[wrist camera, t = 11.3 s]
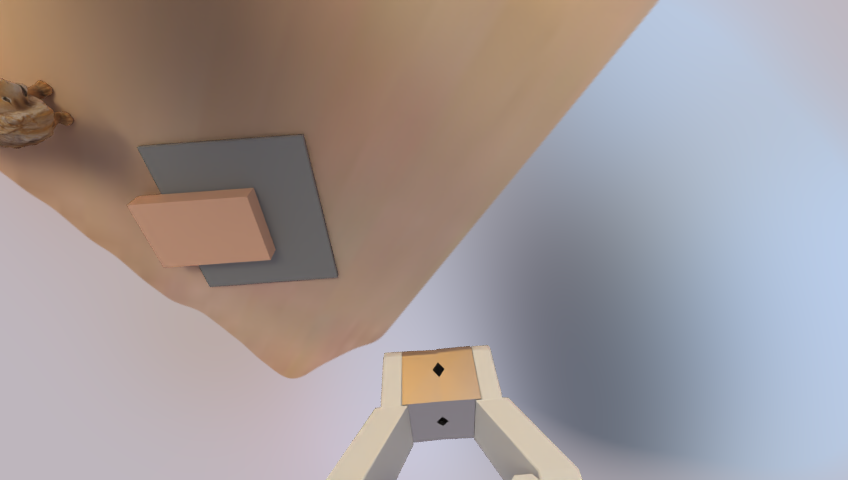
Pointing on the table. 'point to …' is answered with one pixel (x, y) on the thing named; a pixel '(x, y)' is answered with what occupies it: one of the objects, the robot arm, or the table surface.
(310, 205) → the rubber mat
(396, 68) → the table surface
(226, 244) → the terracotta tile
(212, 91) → the table surface
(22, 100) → the lion figurine
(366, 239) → the table surface
